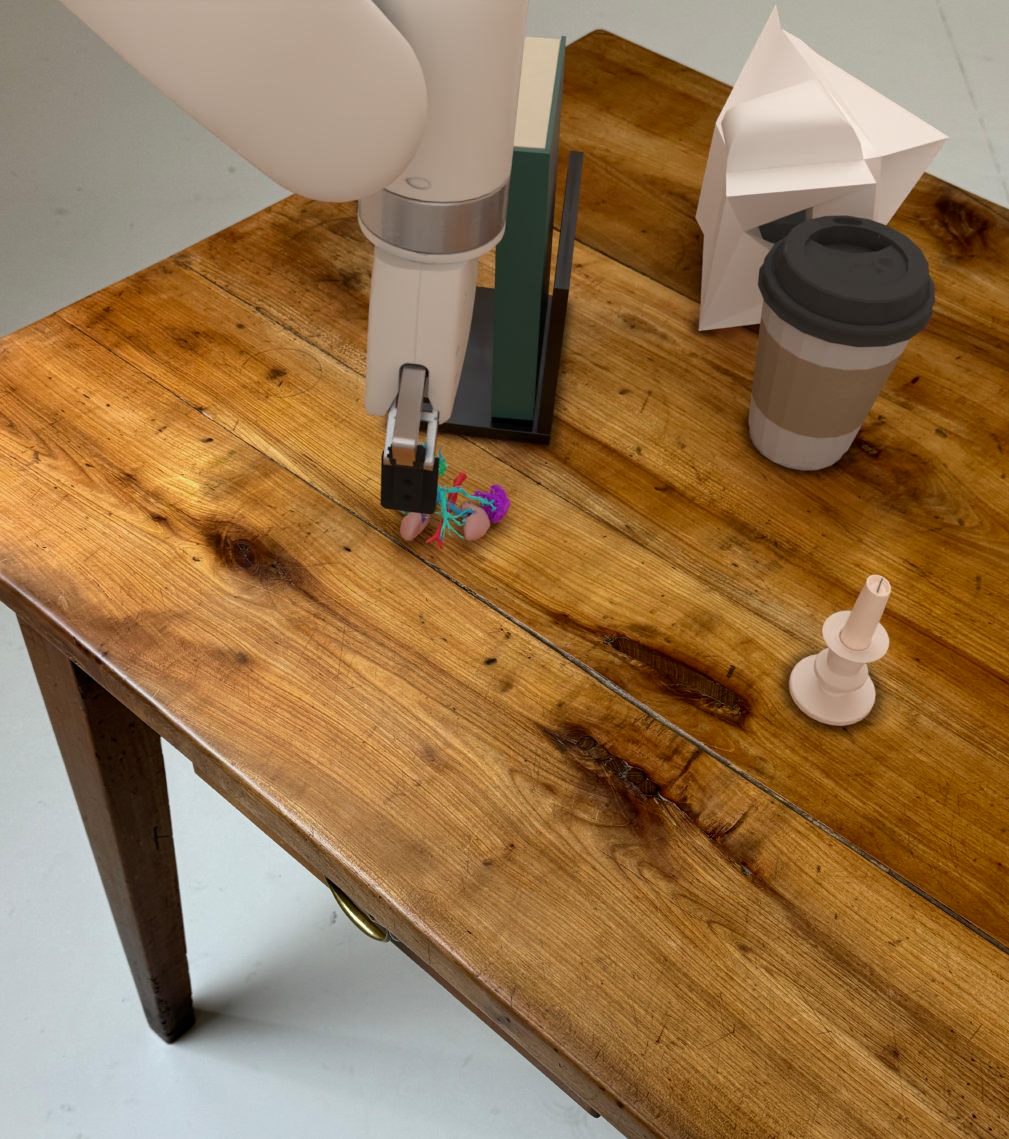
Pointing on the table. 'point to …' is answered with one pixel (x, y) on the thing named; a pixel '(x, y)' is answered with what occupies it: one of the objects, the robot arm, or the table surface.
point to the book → (527, 233)
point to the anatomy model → (472, 515)
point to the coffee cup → (831, 334)
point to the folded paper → (796, 165)
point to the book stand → (477, 367)
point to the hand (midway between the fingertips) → (419, 452)
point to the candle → (844, 661)
